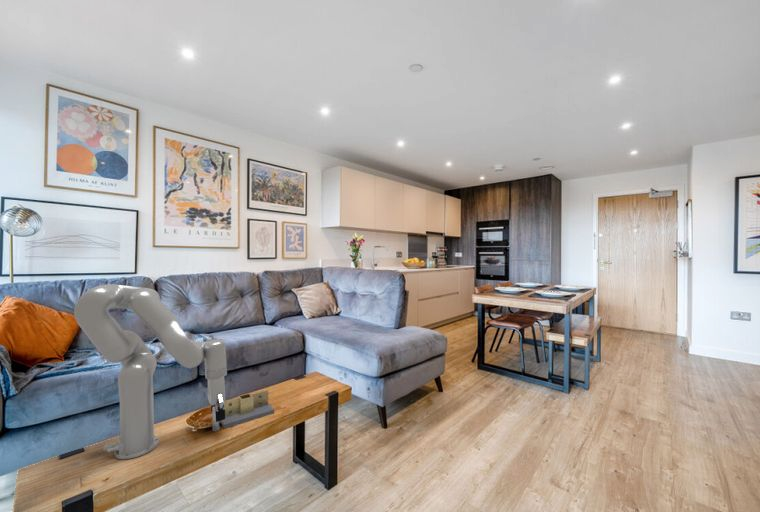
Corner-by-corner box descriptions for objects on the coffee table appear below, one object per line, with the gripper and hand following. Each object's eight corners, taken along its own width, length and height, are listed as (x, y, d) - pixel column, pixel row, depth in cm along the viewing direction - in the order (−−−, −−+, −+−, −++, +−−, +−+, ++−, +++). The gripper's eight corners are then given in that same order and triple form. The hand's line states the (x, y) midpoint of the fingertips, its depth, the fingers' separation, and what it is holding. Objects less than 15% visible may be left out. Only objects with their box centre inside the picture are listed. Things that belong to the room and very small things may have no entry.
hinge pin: (213, 432, 123) (213, 408, 123) (212, 429, 125) (211, 406, 125) (220, 429, 124) (219, 406, 124) (218, 427, 126) (218, 404, 126)
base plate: (223, 428, 125) (223, 424, 125) (216, 414, 136) (216, 411, 136) (274, 413, 137) (274, 409, 137) (264, 401, 148) (264, 398, 148)
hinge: (222, 419, 129) (222, 405, 129) (219, 415, 133) (219, 400, 133) (269, 406, 140) (269, 392, 140) (266, 401, 145) (266, 388, 145)
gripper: (201, 368, 129) (203, 410, 129) (209, 381, 115) (211, 428, 116) (222, 364, 134) (223, 404, 134) (231, 375, 120) (233, 420, 120)
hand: (218, 415), depth 125 cm, fingers open, 9 cm apart
